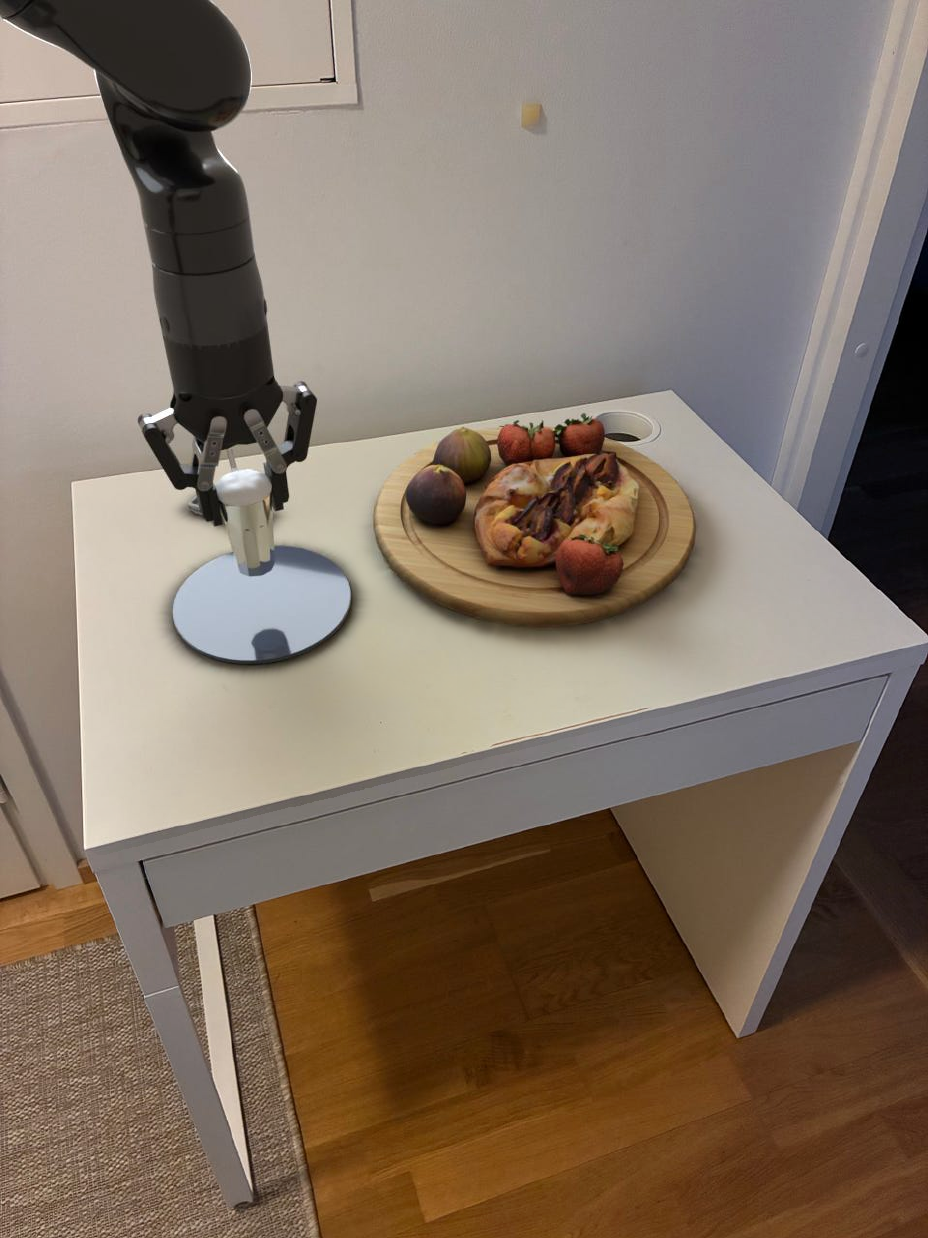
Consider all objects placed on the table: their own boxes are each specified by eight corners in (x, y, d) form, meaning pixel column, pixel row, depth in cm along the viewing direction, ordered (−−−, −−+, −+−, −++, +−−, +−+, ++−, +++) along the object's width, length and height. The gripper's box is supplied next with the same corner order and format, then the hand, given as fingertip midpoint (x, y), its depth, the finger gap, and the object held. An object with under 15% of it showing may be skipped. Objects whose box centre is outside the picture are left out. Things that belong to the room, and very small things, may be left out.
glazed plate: (198, 688, 80) (197, 683, 79) (155, 577, 90) (154, 572, 90) (377, 632, 85) (377, 627, 84) (317, 533, 95) (317, 528, 95)
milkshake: (270, 539, 86) (256, 442, 80) (289, 573, 83) (275, 474, 76) (220, 552, 85) (202, 454, 78) (237, 587, 81) (219, 488, 75)
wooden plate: (731, 627, 86) (750, 554, 80) (373, 641, 84) (367, 567, 78) (655, 437, 109) (665, 371, 104) (374, 445, 108) (370, 378, 102)
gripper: (292, 283, 74) (313, 471, 85) (102, 315, 69) (150, 510, 81) (325, 321, 69) (342, 516, 80) (122, 358, 64) (170, 560, 76)
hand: (246, 512), depth 80 cm, fingers closed on milkshake, 4 cm apart
